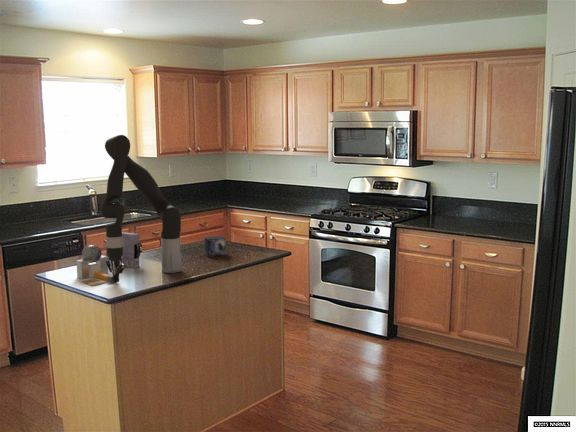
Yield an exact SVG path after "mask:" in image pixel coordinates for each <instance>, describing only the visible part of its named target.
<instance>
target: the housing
mask: <svg viewBox="0 0 576 432" xmlns="http://www.w3.org/2000/svg"><path fill="white" fill-rule="evenodd" d="M81 257H82V258H81V259H77V260H76V277H77V278H78V279H82V280H86V279H90V277H89V265H90V264H94V263H95V264H99V265H100V267H101V272H102V273H105V274H109V269H108V266H107V264H106V261H107V256H106V255H102V249H101V248H100V247H99V246H97V245H94V244H87V245H85V246H84V247H83V248H82V250H81Z"/></svg>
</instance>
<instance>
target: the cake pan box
mask: <svg viewBox="0 0 576 432" xmlns="http://www.w3.org/2000/svg"><path fill="white" fill-rule="evenodd" d="M122 238H123V256H122V257H121V258H122V263H123V264H125V268H131V269H135V268H138V267H140V256H141V250H142V249H141V248H142V247H141V244H140V234H139V233H133V232H126V231H122ZM105 253H106V254H105V256H107V251H106V250H105ZM108 260H109V257H108V256H107V261H108Z"/></svg>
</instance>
